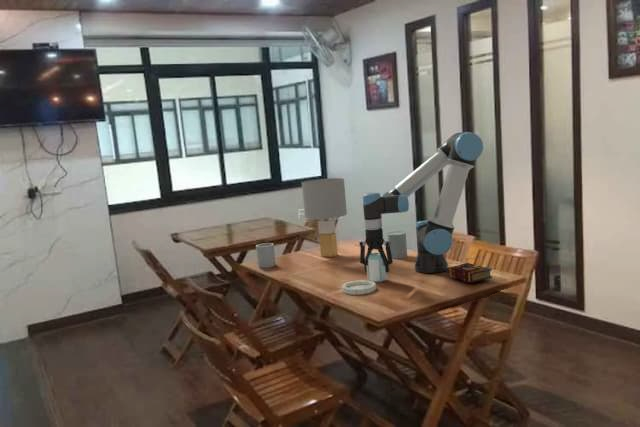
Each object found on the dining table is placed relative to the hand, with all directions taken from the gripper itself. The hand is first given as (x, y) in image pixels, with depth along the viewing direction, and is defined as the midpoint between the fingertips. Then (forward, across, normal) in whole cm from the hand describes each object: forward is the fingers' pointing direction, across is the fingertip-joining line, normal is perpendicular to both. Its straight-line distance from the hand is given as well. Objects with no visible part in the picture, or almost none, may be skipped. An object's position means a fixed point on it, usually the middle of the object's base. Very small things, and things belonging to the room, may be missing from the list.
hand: (377, 279), depth 245 cm
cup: (+1, +68, -18) cm, 70 cm away
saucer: (+1, +3, +15) cm, 15 cm away
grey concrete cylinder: (+1, +5, -46) cm, 46 cm away
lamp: (+1, +43, -43) cm, 61 cm away
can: (+1, 0, 0) cm, 1 cm away
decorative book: (+1, -38, -10) cm, 39 cm away
